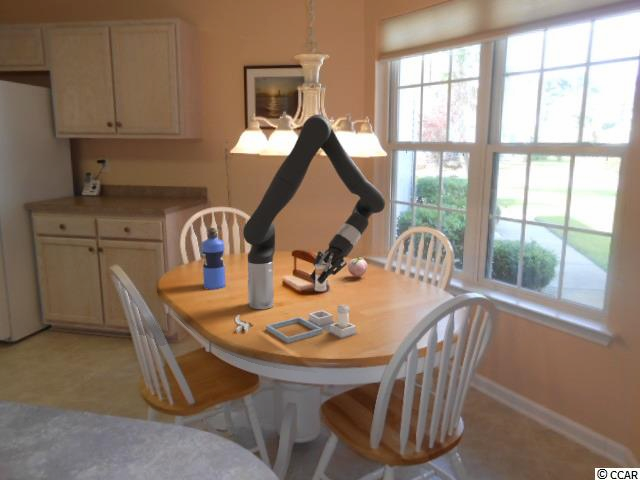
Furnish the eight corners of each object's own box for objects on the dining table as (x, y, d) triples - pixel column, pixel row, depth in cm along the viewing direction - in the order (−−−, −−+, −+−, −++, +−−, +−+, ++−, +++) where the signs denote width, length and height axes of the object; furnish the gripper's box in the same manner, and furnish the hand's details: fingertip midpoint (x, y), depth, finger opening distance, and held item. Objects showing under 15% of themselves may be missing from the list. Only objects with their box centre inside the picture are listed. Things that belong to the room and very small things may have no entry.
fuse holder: (306, 323, 164) (306, 313, 164) (322, 318, 168) (322, 309, 168) (341, 341, 149) (341, 331, 148) (358, 336, 153) (358, 326, 153)
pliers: (265, 313, 170) (256, 329, 155) (265, 317, 170) (256, 334, 156) (237, 312, 171) (225, 328, 156) (237, 316, 171) (226, 333, 157)
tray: (266, 332, 156) (266, 325, 156) (299, 323, 164) (299, 316, 163) (287, 346, 146) (287, 338, 146) (322, 336, 154) (322, 328, 153)
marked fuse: (312, 289, 161) (312, 264, 160) (321, 287, 164) (321, 262, 162) (319, 292, 158) (319, 266, 157) (328, 289, 161) (328, 265, 159)
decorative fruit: (352, 274, 224) (352, 253, 222) (369, 276, 220) (369, 255, 218) (344, 279, 215) (344, 257, 213) (361, 281, 212) (362, 259, 210)
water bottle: (224, 282, 211) (222, 225, 206) (227, 288, 202) (224, 229, 197) (202, 284, 208) (199, 226, 203) (204, 290, 200) (201, 230, 194)
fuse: (334, 332, 154) (334, 306, 152) (343, 329, 156) (344, 304, 155) (342, 336, 151) (342, 310, 149) (351, 333, 153) (351, 307, 152)
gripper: (326, 230, 167) (296, 269, 163) (352, 237, 156) (321, 279, 151) (338, 243, 171) (309, 282, 167) (364, 250, 160) (335, 292, 156)
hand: (315, 280), depth 159 cm, fingers closed on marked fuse, 3 cm apart
